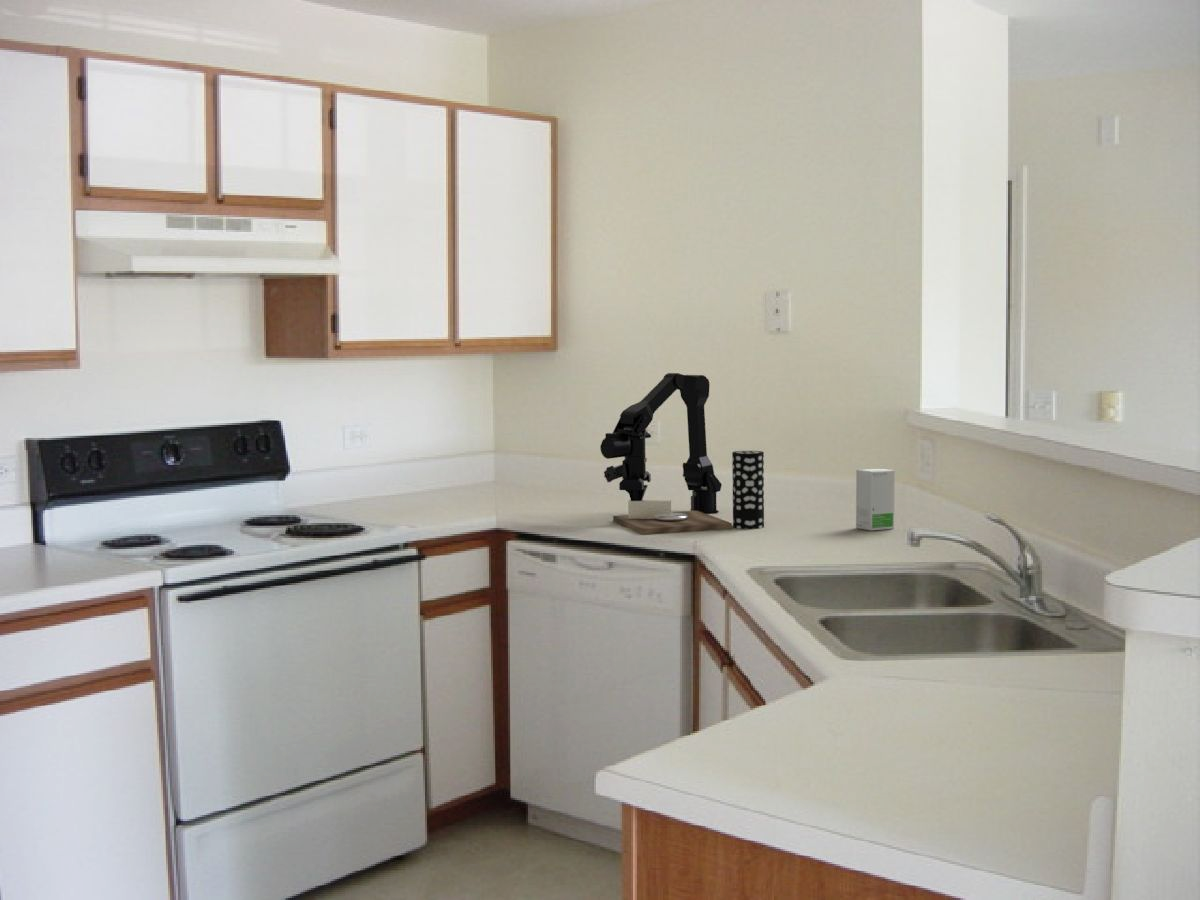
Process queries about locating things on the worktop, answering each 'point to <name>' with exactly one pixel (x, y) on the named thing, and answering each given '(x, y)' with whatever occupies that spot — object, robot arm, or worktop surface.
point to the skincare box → (875, 499)
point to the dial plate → (674, 523)
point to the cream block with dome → (653, 510)
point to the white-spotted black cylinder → (748, 489)
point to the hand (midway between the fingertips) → (635, 511)
